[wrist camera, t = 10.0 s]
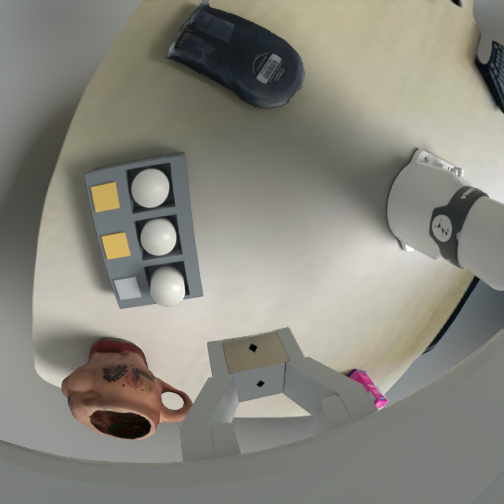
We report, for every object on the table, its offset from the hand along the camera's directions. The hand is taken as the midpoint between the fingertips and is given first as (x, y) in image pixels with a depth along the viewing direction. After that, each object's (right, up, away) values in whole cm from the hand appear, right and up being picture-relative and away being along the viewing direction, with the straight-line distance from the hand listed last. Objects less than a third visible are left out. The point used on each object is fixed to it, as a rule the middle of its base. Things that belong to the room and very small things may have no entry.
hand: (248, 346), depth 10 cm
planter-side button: (-10, 0, +22) cm, 24 cm away
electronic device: (-1, +26, +16) cm, 31 cm away
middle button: (-11, +6, +21) cm, 24 cm away
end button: (-11, +11, +19) cm, 24 cm away
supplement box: (+25, -28, +50) cm, 63 cm away
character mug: (-20, -14, +29) cm, 38 cm away
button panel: (-13, +6, +22) cm, 26 cm away
